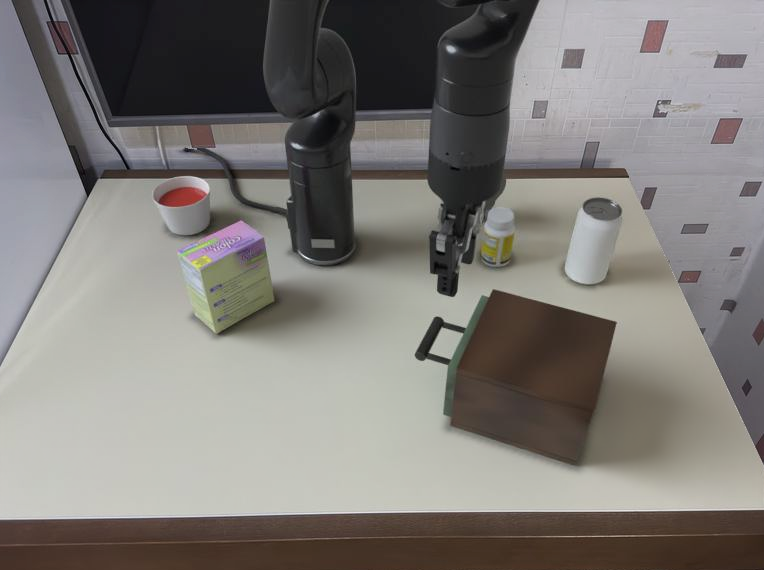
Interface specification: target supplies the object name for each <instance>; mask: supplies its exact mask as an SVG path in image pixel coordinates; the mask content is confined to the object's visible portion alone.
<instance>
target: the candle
mask: <svg viewBox="0 0 764 570" xmlns="http://www.w3.org/2000/svg"><path fill="white" fill-rule="evenodd" d="M151 198H152V201H153V202H154V204H155V206H156V208H157V210H158V211H159V213H160V215H161V218H162V219H163V222H164V223H165V225H166V227H167V229H168V230H169V231H170V232H171V233H173V234H175V235H179V236H193V235H197V234H199V233H202V232H203V231H204V230H206V229H207V228H208V226H209V225H210V223H211V188H210V185H209V183H208V182H207V181H206V180H204V179H203V178H200V177H197V176H191V175H183V176H176V177H171V178H168V179H166V180H164V181H161V182H160V183H159V184H157V185H156V186H155V187H154V188H153V189H152V193H151Z"/></svg>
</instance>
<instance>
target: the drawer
mask: <svg viewBox="0 0 764 570" xmlns="http://www.w3.org/2000/svg"><path fill="white" fill-rule="evenodd" d="M488 299H489V296H487V295H483V294H481V295H480V297H479V300H478V302H477V304H476V306H475V308H474V311H473V312H472V314H471V317H470V319H469V320H468V323H467V325H466V327H464V326H460V325H457V324H454V323H450V322H446V321H445V320H444V319H443V318H442V317H441V316H434V317H433V319H432V320H431V323H430V324H429V326H428V328H427V330H426V332H425V334H424V335H423V337H422V340H421V342H420V344H419V345H418V347H417V349H416V351H415V353H414V357H415V359H416V360H418V361H420V362H425V361H426V360H429V361H432V362H435V363H439V364H443V365H446V366H447V369H446V380H445V388H444V389H445V392H444V399H443V400H444V402H443V411H442V414H443V415H444V416H447V417H450V418H451V413H452V404H453V394H454V385H455V376H456V368H457V366H458V363H459V361H460V359H461V357H462V355H463V353H464V350H465V348H466V346H467V344H468V342H469V340H470V337H471V335H472V333H473V331H474V329H475V327H476V324H477V322H478V320H479V318H480V316H481V314H482V311H483V309H484V307H485V305H486V303H487V301H488ZM442 329H446V330H448V331H449V330H450V331H453V332H456V333H459V334H462V335H461V338H460V340H459V342H458V344H457V346H456V349H455V350H454V352H453V354H452V357H451V358H447V357H444V356H440V355H437V354H434V353H431V352H430V351H431V350H432V348H433V346H434V344H435V342H436V340H437V338H438V336H439V334H440V332H441V331H442Z"/></svg>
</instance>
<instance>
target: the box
mask: <svg viewBox="0 0 764 570" xmlns="http://www.w3.org/2000/svg"><path fill="white" fill-rule="evenodd" d="M176 252H177V256H178V259H179V263H180V266H181V270H182V274H183V277H184V281H185V284H186V288H187V291H188V295H189V298H190V302H191V305H192V309H193V312H194V315H195V316H196V317H197V318H198V319H199V320H200V321H201V322H202V323H203V324H204V325H205V326H207V327H208V328H209V329H210V330H211V331H212V332H214V334H216V335H218V334H219V333H221V332H222V331H225V330H226V329H227V328H229V327H231V326H233V325H235V324H236V323H238V322H240V321H242V320H243V319H245V318H247V317H248V316H250V315H252V314H254V313H255V312H257V311H260V310H261V309H263V308H264V307H266V306H268V305H269V304H273V303H274V302H275V300H276V299H275V295H274V288H273V283H272V277H271V276H272V275H271V271H270V264H269V259H268V253H267V247H266V242H265V236H264V235H263V234H261V233H260V232H259V231H257V230H256V229H254V228H253V227H252V226H250V225H248V224H247V223H246V222H245V221H243V220H239V221H237V222H235V223H233V224H231V225H229V226H226V227H224V228H222V229H220V230H218V231H215V232H214V233H211V234H209V235H208V236H206V237H204V238H201V239H199V240H197V241H195V242H193V243H191V244H188V245H187V246H185V247H182V248H180V249H177V250H176Z"/></svg>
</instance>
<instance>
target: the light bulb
mask: <svg viewBox="0 0 764 570" xmlns="http://www.w3.org/2000/svg"><path fill="white" fill-rule="evenodd" d="M506 186H507V177H506V174H505V172H504V171H503V178H502V185H501V188H500V190H499V192H498V193H497V194H496V195H495V196H494V197H492V198H491V199H489V200H487V206H486V212H485V220H484V221H487V217H488V212H489V211H490V210H491V209H493V208H494V207H495V204H496V201H497V200H498V199H499V198H500V196H501V195H502V194H503V193H504V191H505V189H506Z"/></svg>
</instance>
